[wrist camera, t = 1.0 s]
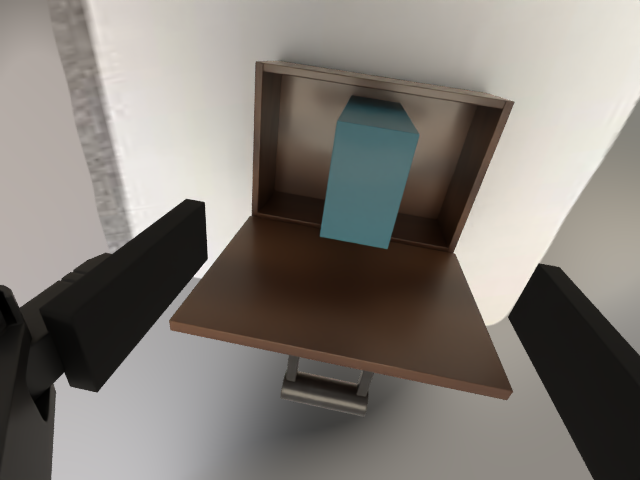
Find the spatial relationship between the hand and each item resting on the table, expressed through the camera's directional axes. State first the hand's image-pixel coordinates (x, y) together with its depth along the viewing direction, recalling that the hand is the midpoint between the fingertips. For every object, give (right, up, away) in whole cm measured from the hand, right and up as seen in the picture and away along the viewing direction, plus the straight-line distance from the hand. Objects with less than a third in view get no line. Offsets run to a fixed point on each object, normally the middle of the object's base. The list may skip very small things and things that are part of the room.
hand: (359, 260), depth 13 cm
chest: (+3, +10, +20) cm, 22 cm away
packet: (+3, +11, +19) cm, 22 cm away
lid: (0, -2, +11) cm, 11 cm away
